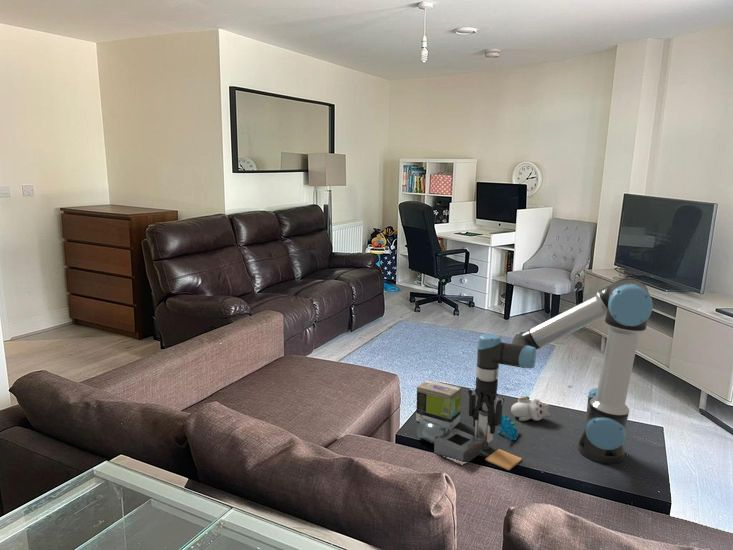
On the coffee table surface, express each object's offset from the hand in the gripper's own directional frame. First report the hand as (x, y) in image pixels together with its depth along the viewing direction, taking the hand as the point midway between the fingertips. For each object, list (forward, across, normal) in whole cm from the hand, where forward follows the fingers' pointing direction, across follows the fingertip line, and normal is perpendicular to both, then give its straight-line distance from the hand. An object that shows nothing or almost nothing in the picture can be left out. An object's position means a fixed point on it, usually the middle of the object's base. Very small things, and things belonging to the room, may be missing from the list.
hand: (483, 438), depth 191 cm
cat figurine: (+3, -2, -32) cm, 32 cm away
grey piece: (+3, +9, +10) cm, 14 cm away
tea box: (+3, +23, -4) cm, 24 cm away
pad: (+3, -10, +3) cm, 11 cm away
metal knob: (+3, 0, 0) cm, 3 cm away
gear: (+3, -3, -13) cm, 14 cm away
